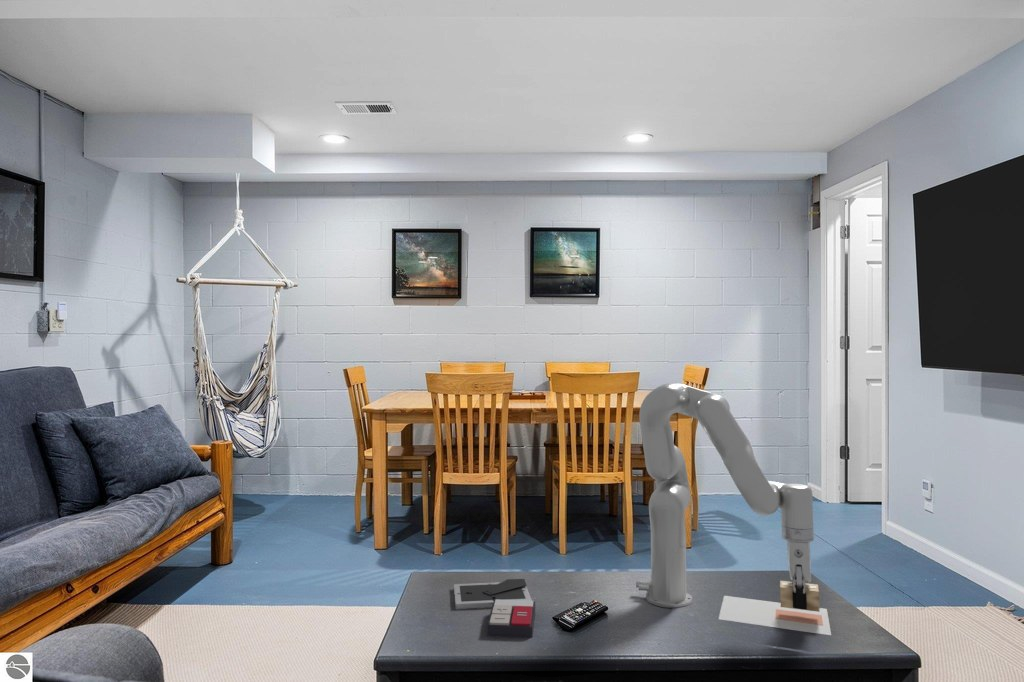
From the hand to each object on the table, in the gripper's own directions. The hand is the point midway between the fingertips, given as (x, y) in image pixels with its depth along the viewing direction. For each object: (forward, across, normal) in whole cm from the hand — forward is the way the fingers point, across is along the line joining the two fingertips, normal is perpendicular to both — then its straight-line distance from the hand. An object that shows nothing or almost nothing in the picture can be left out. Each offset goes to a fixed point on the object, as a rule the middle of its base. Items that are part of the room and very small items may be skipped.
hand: (799, 603), depth 168 cm
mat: (+4, 0, +6) cm, 7 cm away
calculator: (+4, -31, +67) cm, 74 cm away
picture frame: (+4, -15, +80) cm, 82 cm away
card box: (+1, 0, 0) cm, 1 cm away
